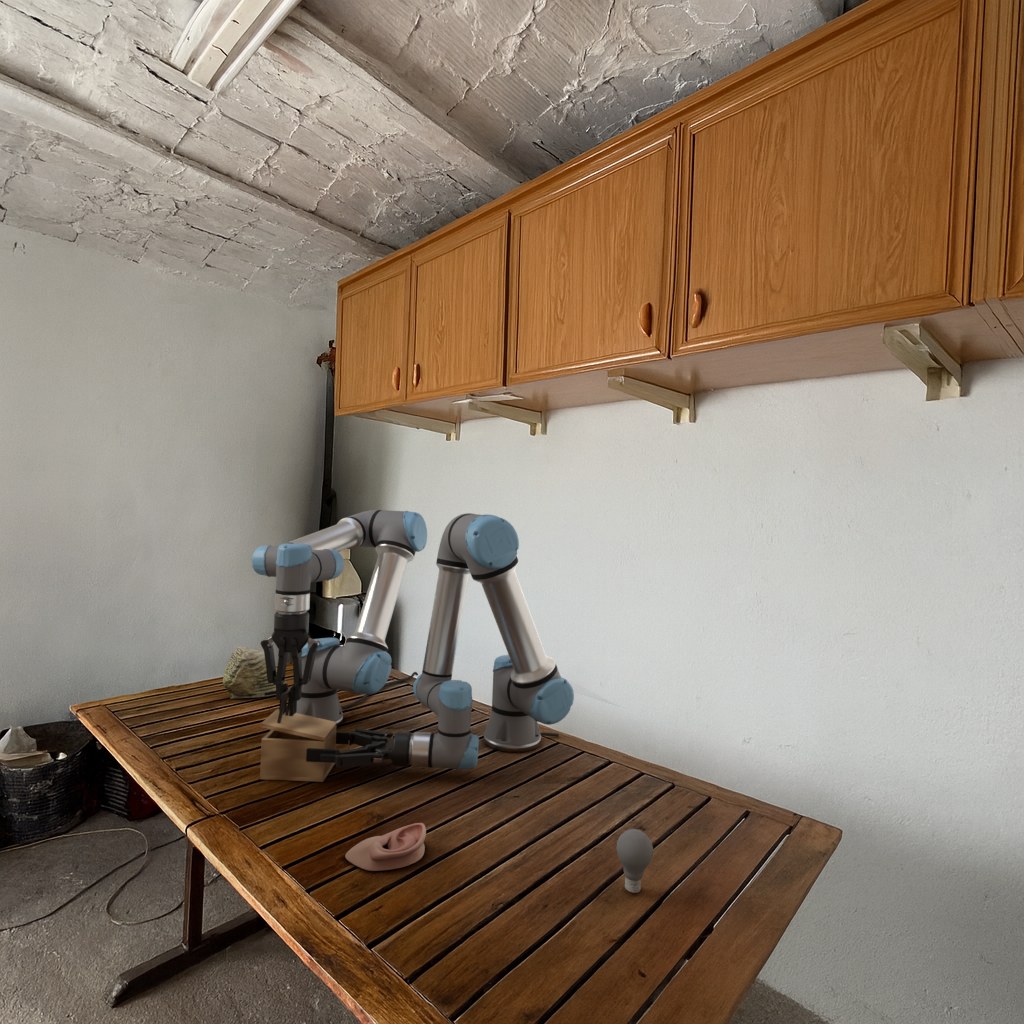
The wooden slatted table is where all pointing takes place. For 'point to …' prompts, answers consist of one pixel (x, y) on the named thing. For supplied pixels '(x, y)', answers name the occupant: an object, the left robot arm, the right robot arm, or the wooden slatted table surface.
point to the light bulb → (634, 857)
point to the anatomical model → (390, 849)
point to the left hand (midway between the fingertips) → (287, 713)
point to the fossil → (247, 674)
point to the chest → (293, 757)
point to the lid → (298, 722)
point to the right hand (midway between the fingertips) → (314, 745)
